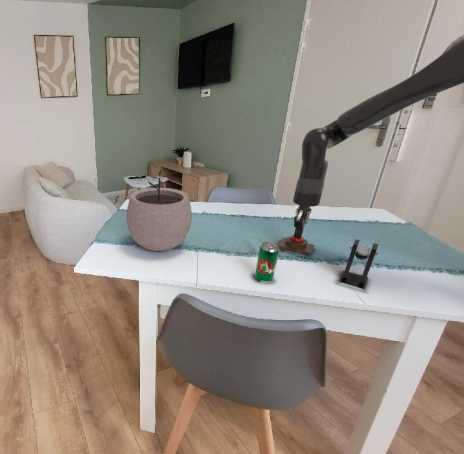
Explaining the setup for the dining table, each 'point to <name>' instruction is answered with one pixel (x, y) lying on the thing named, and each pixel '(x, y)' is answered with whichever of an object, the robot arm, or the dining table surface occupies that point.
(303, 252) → the button housing
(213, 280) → the dining table surface
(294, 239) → the button
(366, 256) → the press lever
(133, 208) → the plant pot
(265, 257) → the soda can
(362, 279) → the lever bracket
